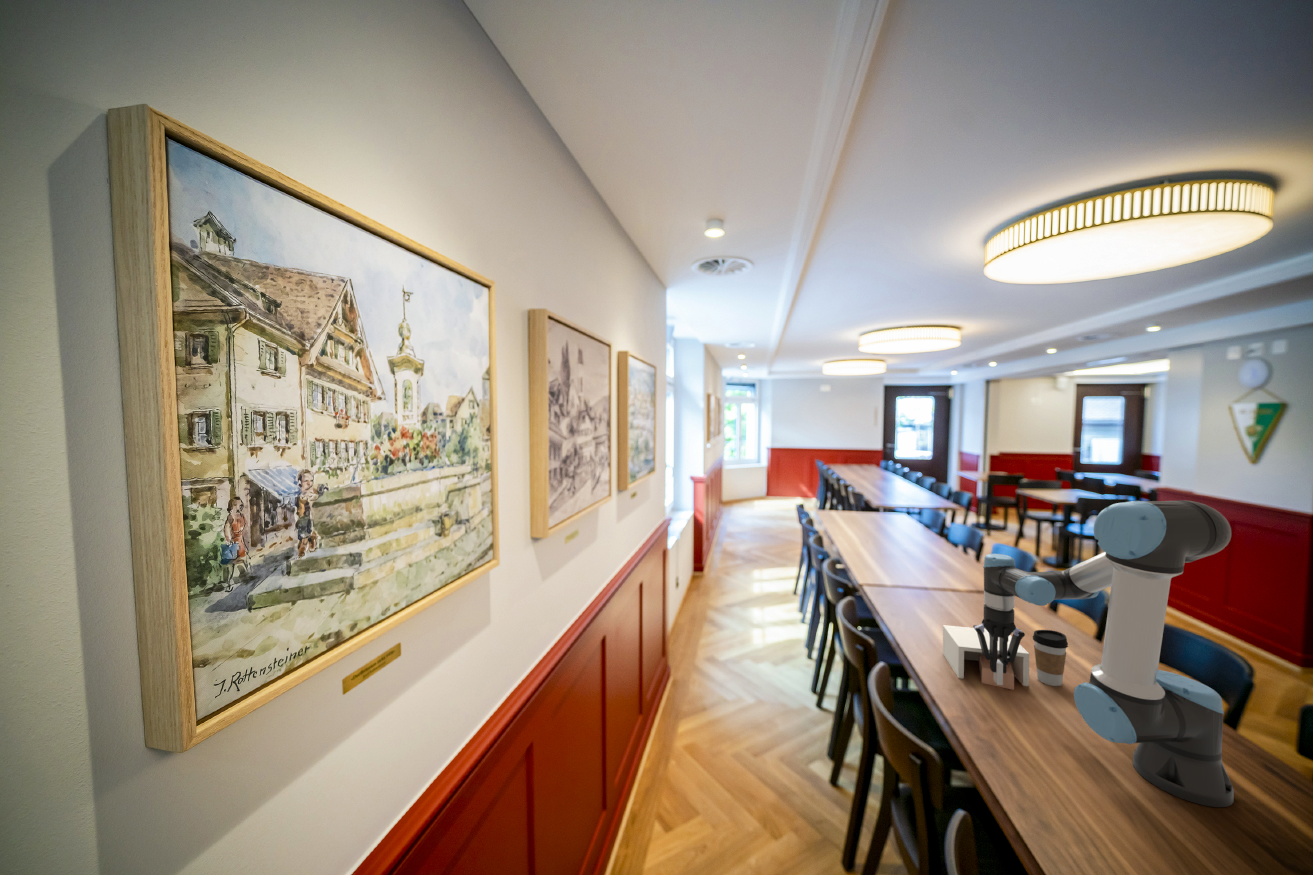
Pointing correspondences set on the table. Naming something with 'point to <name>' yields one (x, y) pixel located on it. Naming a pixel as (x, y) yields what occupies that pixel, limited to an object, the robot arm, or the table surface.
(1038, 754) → the table surface
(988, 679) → the pink clay brick
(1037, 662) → the coffee cup
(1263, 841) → the table surface
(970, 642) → the shelf
